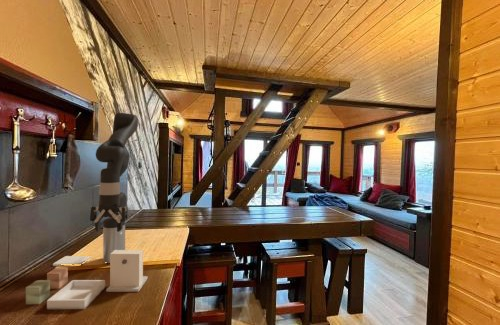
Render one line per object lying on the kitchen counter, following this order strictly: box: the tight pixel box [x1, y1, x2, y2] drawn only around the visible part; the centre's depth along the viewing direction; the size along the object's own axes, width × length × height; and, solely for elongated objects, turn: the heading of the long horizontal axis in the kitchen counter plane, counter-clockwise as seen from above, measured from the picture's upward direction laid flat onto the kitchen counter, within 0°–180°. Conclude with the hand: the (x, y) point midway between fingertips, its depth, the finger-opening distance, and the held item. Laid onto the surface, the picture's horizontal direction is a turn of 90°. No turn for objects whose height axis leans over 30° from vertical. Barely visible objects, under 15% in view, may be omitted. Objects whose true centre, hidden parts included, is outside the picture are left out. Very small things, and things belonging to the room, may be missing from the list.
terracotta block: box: [46, 267, 69, 290], centre depth 91 cm, size 4×4×6 cm
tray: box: [46, 279, 106, 311], centre depth 84 cm, size 12×12×3 cm
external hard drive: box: [52, 255, 93, 267], centre depth 110 cm, size 2×8×12 cm
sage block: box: [25, 279, 51, 305], centre depth 82 cm, size 4×4×6 cm
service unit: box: [105, 249, 149, 293], centre depth 93 cm, size 9×12×14 cm
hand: (108, 231), depth 98 cm, fingers open, 8 cm apart
